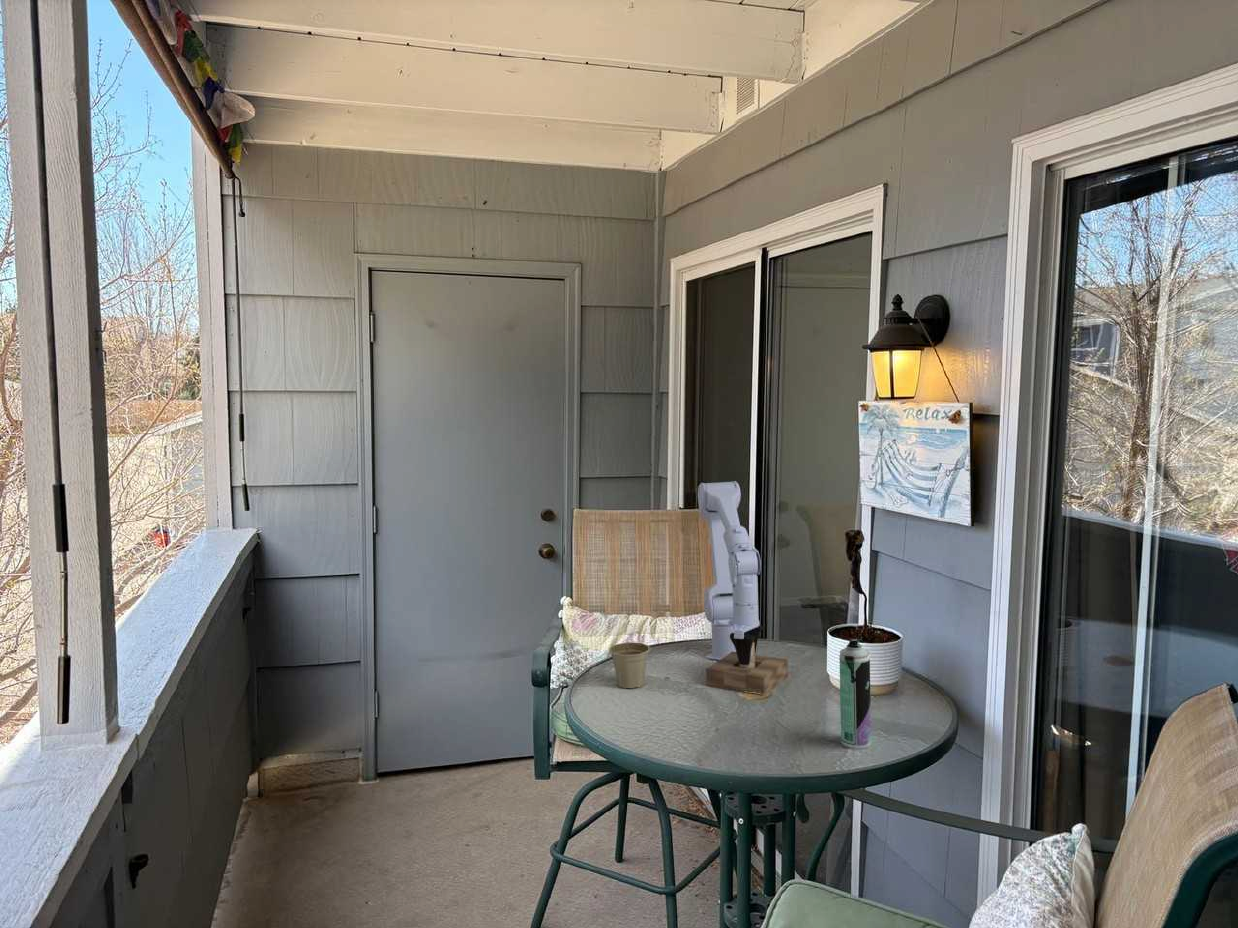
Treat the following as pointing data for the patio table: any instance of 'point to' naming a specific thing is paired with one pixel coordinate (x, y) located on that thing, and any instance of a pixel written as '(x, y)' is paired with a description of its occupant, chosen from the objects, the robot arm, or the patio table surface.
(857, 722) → the spray can
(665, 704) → the patio table surface
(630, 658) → the flower pot
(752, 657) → the peg
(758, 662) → the socket block
